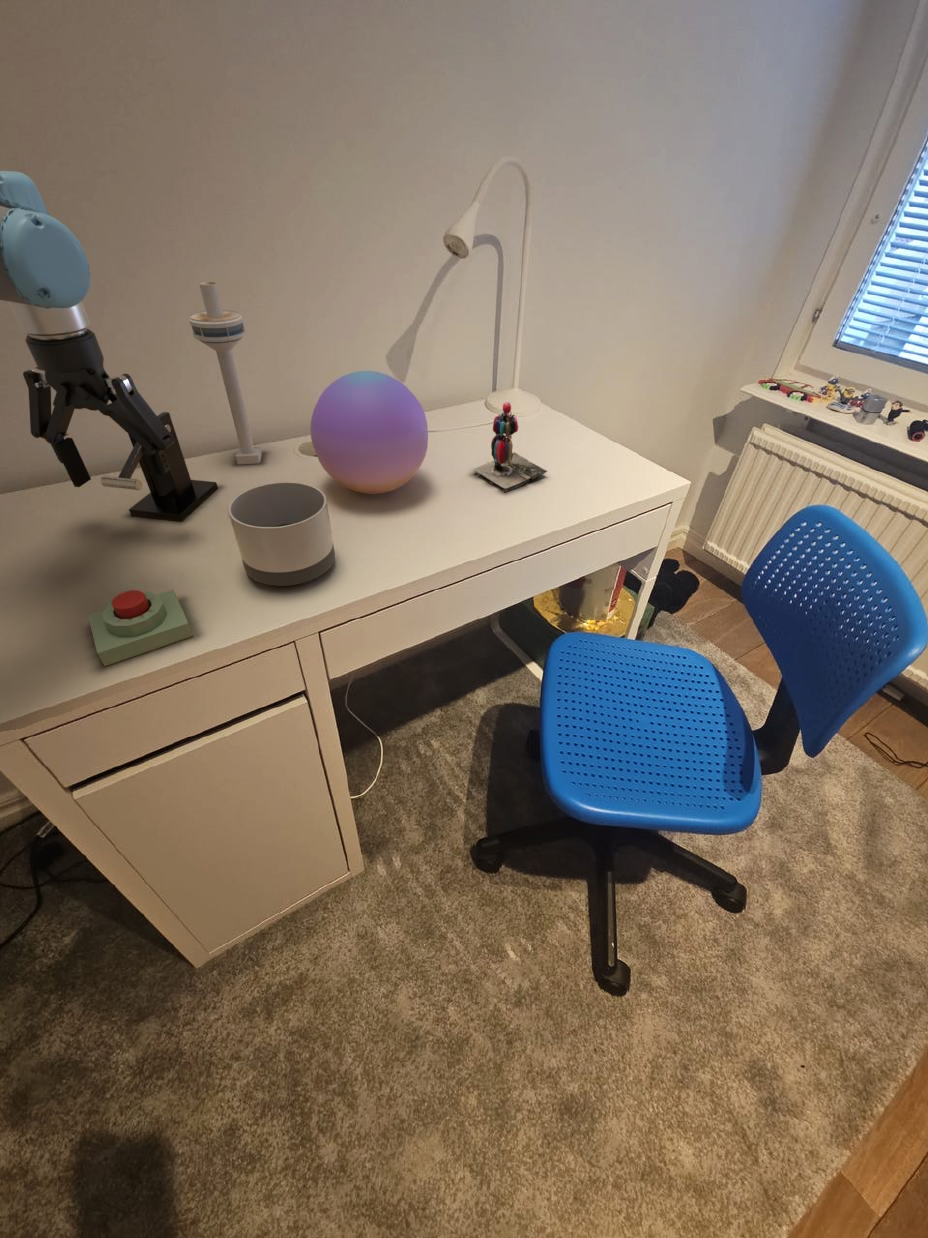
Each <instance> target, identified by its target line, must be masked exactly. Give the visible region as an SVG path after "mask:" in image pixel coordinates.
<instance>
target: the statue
mask: <svg viewBox="0 0 928 1238" xmlns="http://www.w3.org/2000/svg"><path fill="white" fill-rule="evenodd" d="M511 411H512V405H511V403H510V402H509V401H504V402H503V404H502V412H501V414H500V413H499V414H498V415H495V416H494V417H493V418H494V419H493V423H492V431H493V433H494V434H495V435H494V437H492V440H491V444H490V448H491V456H492V458H493V460H492V461H490V462H487V463H484V464H481V465H479V466H476V467H475V468H473V471H474V475H476V476H478V477H480V476H483V477H485V478H486V479H487V480H488V483H489V484H490V485H493V484H495V485H498V486H499V487H501V488H503V489H502V491H503V493H504V494H505V493H507V492H510V491H511V490H515V489H517V488H519V487H521V486H523V485H525V484H528V483H529V482H530V483H534V482H536V481H537V480H539V478H540V477H541V476H544V475H545V474H546V473H547V472H548V470H546V469H544V468H543V467H541V466H539V465H537V464H535V463H533V462H532V461H530V460H528V459H527V458H526V457H523V456H521V455H520V454H519V453H517V452H515V451H514V452H513V445H514V444H513V442H512V441H513V440H512V439H513V437H512V435H514V434H515V433H517V432H518V431H519V423H518V418H517V416H516V415H515V414H512V415H511Z"/></svg>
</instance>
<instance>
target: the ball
mask: <svg viewBox="0 0 928 1238" xmlns="http://www.w3.org/2000/svg"><path fill="white" fill-rule="evenodd" d="M428 427H429V426H428V420H427V417H426V413H425V411H424V409H423V406H422V405H421V403H420V401H419V399H418V398H417V397H416V396H415V395H414V393H413V392H412V391H411V390H410V389H409V388H408V387H407V385H405V384H404V383H403V382H401V380H398V379H396V378H395V377H393V376H391V375H389V374H386V373H383V372H380V371H379V372H378V371H374V370H360V371H359V370H358V371H353V372H350V373H348V374H345V375H342V376H340V377H339V378H337V379H335V380H333V382H331V383H330V384H329V385H328V386H327V387H326V388H324V389H323V392H322V393H321V394H320V396H319V397H318V400H317V402H316V404H315V407H314V408H313V411H312V414H311V420H310V428H309V429H310V439H311V443H312V447H313V449H314V452H315V454H316V456H317V460H318V462H319V463H320V465H321V467H322V468H323V470H324V471H325V472H326V473H327V474H328V475H329V477H331V478H332V479H333V480H335V481H336V482H337V483H338V484H340V486H342V487H344V488H347V489H348V490H350V491H354V492H356V493H361V494H366V495H380V494H385V493H388V492H391V491H394V490H397V489H399V488H401V487H402V486H404V485H405V484H407V483H408V482H409V481H410V480H411V479H412V478H413V477H414V476H415V475H416V474H417V472H418V471H419V469H420V467H421V466H422V465H423V463H424V461H425V458H426V455H427V451H428V445H429V444H428V443H429V428H428Z"/></svg>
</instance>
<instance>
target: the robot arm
mask: <svg viewBox="0 0 928 1238" xmlns="http://www.w3.org/2000/svg"><path fill="white" fill-rule="evenodd" d="M90 286H91V271H90V263H89V259H88V257H87V255H86V252H85V250H84V248H83V246H82V244H81V243H80V241H79V240H78V238H77V236H75V234H74V233H73V232H72V231H71V230H70V228H69V227H67V226H66V225H64V224H63V222H61V221H59V220H58V219H56V218H55V217H53V216H51V215H50V213H49V211H48V208H47V206H46V204H45V202H44V199H43V197H42V195H41V193H40V191H39V189H38V187H37V185H36V183H35V181H33V179H32V178H31V177H30V176H28V175H27V174H25V173H23V172H20V171H14V170H13V171H11V170H0V301H3V302H7V304H8V306H9V309H10V311H11V312H12V313H11V314H12V315H13V318H14V320H15V322H16V324H17V326H18V329H19V331H20V332H21V333H23V334H25V335H26V336H25V344H26V345H27V347H28V350H29V352H30V355H31V357H32V358H33V361H34V362H35V365H36V366H35V367H33V368H30V369H27V370H25V371H23V372H22V377H23V378H24V382H25V384H26V386H27V390H28V405H29V406H28V407H29V409H28V410H29V426H30V434H31V436H32V437H33V438H36V439H39V438H41V439H44V441H45V442H47V444H50V446H51V448H52V449H53V452H54V454H55V456H56V458H57V460H58V461H59V462H60V464H63V466H64V468H65V470H66V473H67V475H68V477H69V478H70V480H71V483H72V484H73V487H75V488H81V487H82V486H84V485H85V484H87V483H88V482H89V481H91V480H92V478H91V476H90V473H89V471H88V469H87V467H86V465H85V463H84V460H83V458H82V456H81V454H80V452H79V450H78V447H77V445H76V443H75V440H74V439H73V437H68V436H69V433H67V432H68V429H69V427H70V423H71V421H72V418H73V415H74V412H75V410H83V409H86V410H88V411H94V412H97V411H99V413H101V414H102V415H103V416H106V417H109V418H110V419H111V420H112V421H113V422H115V423H116V424H117V426H119V427H120V428H121V429H123V431H125V433H127V435H128V434H129V435H130V436H131V437H133V438H134V439H135V440H136V441H137V442H138V443H139V444H140V445H141V446H142V447H144V448H145V449H146V450H147V452H145V453H144V454H143V455H144V458H145V460H146V463H147V466H148V468H149V471H150V473H151V476H152V479H153V481H154V484H155V487H156V489H157V492H158V494H159V496H165V495H166V494H167V493H169V492H170V491H171V490H172V489H173V488H174V486H173V484H172V481H171V478H170V475H169V472H168V471H169V470H170V464H169V461H168V458H167V455H166V453H165V449H167V448H168V447H169V446H171V445H172V444H174V443H175V439H174V437H173V436H172V435H171V433H170V432H169V431H168V430H167V428H166V427H165V426H164V425H163V423H162V422H161V421H160V419H159V418H158V417H157V416H158V415H157V414H156V413H155V412H154V410H153V409H152V408H151V407H150V405H149V404H148V403H147V401H146V400H145V399H144V397H143V396H142V395H141V393H140V392H139V391H138V389H137V387H136V385H135V383H134V380H133V378H132V377H131V375H130V374H128V373H125V372H124V373H123V374H121V375H118V376H110V375H109V374H108V373H107V371H106V370H105V367H104V360H105V358H104V354H103V352H102V349H101V346H100V344H99V341H98V338H97V336H96V333H95V332H94V331H92V330H91V329H89V328H90V326H91V322H90V318H89V316H88V314H87V311H86V309H85V306H84V304H83V300H84V299H85V298H86V297H87V295H88V293H89V290H90ZM52 389H53V390H54V391H55V392H56V393H55V395H54V399H53V402H52ZM109 402H110V403H109ZM52 405H53V409H52ZM129 435H128V436H129ZM65 437H66V438H65ZM150 441H151V442H152V443H151V442H150Z"/></svg>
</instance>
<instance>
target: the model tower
mask: <svg viewBox="0 0 928 1238" xmlns="http://www.w3.org/2000/svg"><path fill="white" fill-rule="evenodd" d="M198 285H199V289H200V293H201V297H202V302H203V305H204V308H205V310H202V311H196V312H193V313H191V314H190V315H189V318H188V321H189V325H190V326H191V329H192V336H193V338H194V339H196V340H197V341H198V342H200V343H202V344H204V345H205V346H207V347H209V348H210V349H211V350H213V351H215V352H216V357H217V360H218V364H219V368H220V373H221V377H222V380H223V384H224V389H225V392H226V396H227V397H226V398H227V401H228V405H229V408H230V413H231V417H232V421H233V424H234V425H233V426H234V428H235V433H236V436H237V440H238V444H239V447H237V450H236V454H235V460H236V464H237V465H254V464H256V465H257V464H261V460H262V455H263V454H262V449H261V446H260V445H259V446H254V442H253V438H252V433H251V430H250V429H251V428H250V425H249V419H248V416H247V412H246V407H245V403H244V399H243V395H242V391H241V390H242V389H241V385H240V382H239V378H238V373H237V369H236V365H235V361H234V360H235V359H234V356H233V352H232V350H233V349H234V348H235V347H236V345H238V343H239V342H240V341H241V340H242V339H243V338H244V336H245V335H246V330H245V327H244V326H245V325H244V321H243V316H242V315H241V313H240V312H238V311H235V310H228V309H223V308H222V305H221V304H222V303H221V300H220V296H219V292H218V287H217V283H216V282H215V281H214V282H213V281H202V282H199V283H198Z"/></svg>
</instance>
